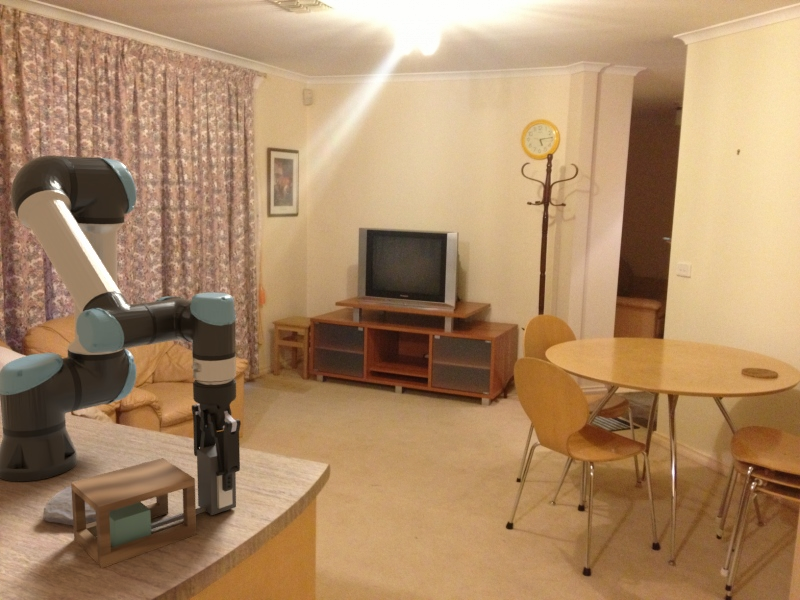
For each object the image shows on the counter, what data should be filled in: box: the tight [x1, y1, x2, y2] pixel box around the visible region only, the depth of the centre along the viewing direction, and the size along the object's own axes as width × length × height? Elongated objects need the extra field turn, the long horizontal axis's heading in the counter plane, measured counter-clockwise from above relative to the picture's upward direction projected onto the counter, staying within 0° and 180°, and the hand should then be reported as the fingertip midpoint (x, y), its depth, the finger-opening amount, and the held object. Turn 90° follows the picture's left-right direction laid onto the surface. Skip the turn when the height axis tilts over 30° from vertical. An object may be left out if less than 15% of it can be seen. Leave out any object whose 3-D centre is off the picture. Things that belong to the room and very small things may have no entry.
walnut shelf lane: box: [70, 457, 197, 569], centre depth 117 cm, size 12×16×10 cm
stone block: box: [43, 486, 96, 526], centre depth 125 cm, size 12×5×10 cm
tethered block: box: [109, 445, 237, 548], centre depth 121 cm, size 6×22×11 cm, turn 134°
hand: (217, 499), depth 128 cm, fingers closed on tethered block, 5 cm apart
